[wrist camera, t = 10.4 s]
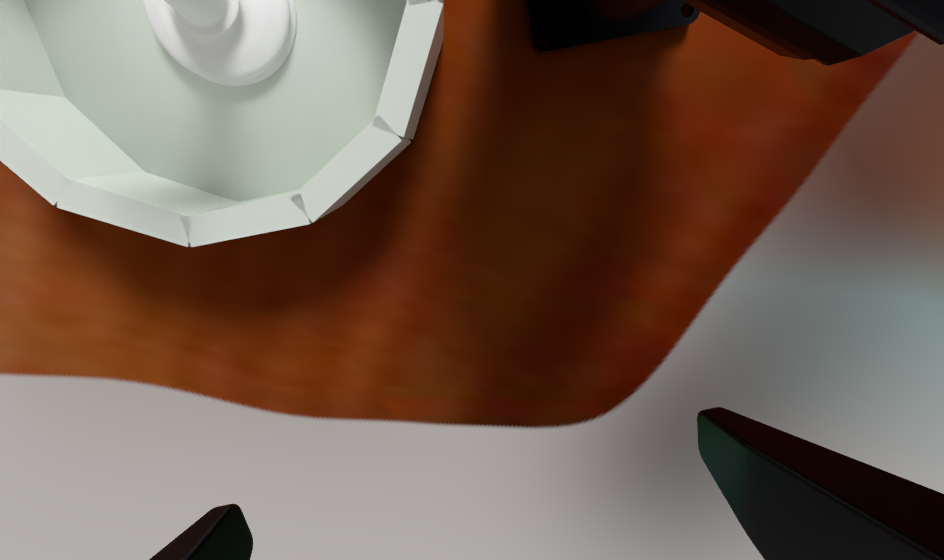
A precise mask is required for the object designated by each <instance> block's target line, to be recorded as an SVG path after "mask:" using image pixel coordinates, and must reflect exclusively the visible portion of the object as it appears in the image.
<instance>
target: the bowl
mask: <svg viewBox="0 0 944 560" xmlns="http://www.w3.org/2000/svg"><path fill="white" fill-rule="evenodd" d="M294 1H295V6H296V15H297V25H296V34H295V39H294V43H293V46H292V48H291V51H290V53H289V55H288V57H287V58H286V60H285V61H284V63H283V64H282V65H281V66H280V67H279V69H278V70H277V71H275V72H274V73H273V74H272V75H270V76H269V77H267V78H266V79H264V80H262V81H260V82H257V83H254V84H250V85H245V86H227V85H221V84H217V83H214V82H211V81H208V80H206V79H204V78H202V77H200V76H198V75H197V74H195V73H193V72H192V71H190V70H188V69H187V68H185V67H184V66H182V65H181V64H180V63H179V62H177V61H176V60H175V59H174V58H173V57H172V56H171V55H170V54H169V53H168V52H167V51H166V50H165V48H164V47H163V46H162V44H161V43H160V42H159V40H158V39H157V37H156V35H155V34H154V32H153V30H152V28H151V26H150V23H149V21H148V18H147V15H146V12H145V8H144V4H143V0H0V161H1V162H3V163H4V164H5V165H6V166H7V167H8V168H10V169H11V170H12V171H13V172H14V173H16V174H17V175H18V176H19V177H20V178H21V179H23V180H24V181H25V182H26V183H27V184H28V185H30V186H31V187H32V188H33V189H34V190H35V191H37V192H38V193H39V194H40V195H41V196H42V197H44V198H45V199H46V200H47V201H48V202H50V203H51V204H52V205H57V208H60V209H63V210H66V211H70V212H73V213H76V214H80V215H83V216H86V217H90V218H93V219H96V220H100V221H103V222H106V223H109V224H113V225H116V226H119V227H123V228H126V229H129V230H133V231H136V232H139V233H143V234H146V235H149V236H152V237H156V238H159V239H162V240H166V241H169V242H172V243H176V244H179V245H182V246H186V247H189V246H191V247H196V246H201V245H206V244H211V243H216V242H221V241H226V240H231V239H237V238H242V237H247V236H252V235H257V234H262V233H267V232H272V231H278V230H283V229H288V228H293V227H298V226H303V225H308V224H311V223H313V222H315V221H317V220H318V219H320V218H322V217H324V216H325V215H327V214H329V213H330V212H332V211H334V210H336V209H337V208H339V207H341V206H343V205H344V204H345V203H346V202H347V201H348V200H349V199H350V198H351V197H352V196H354V195H355V194H356V193H357V192H358V191H359V190H360V189H361V188H362V187H363V186H364V185H366V184H367V183H368V182H369V181H370V180H371V179H372V178H373V177H374V176H375V175H376V174H377V173H379V172H380V171H381V170H382V169H383V168H384V167H385V166H386V165H387V164H388V163H389V162H391V161H392V160H393V159H394V158H395V157H396V156H397V155H398V154H399V153H400V152H401V151H403V150H404V149H405V148H406V147H407V146H408V145H409V144H410V143H411V141H410V140H409V139H412V140H413V138H414V135H415V132H416V128H417V125H418V122H419V118H420V115H421V112H422V109H423V105H424V102H425V99H426V95H427V92H428V89H429V85H430V82H431V79H432V76H433V72H434V69H435V66H436V62H437V59H438V56H439V52H440V49H441V46H442V42H443V30H444V0H294Z"/></svg>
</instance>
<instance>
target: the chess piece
mask: <svg viewBox="0 0 944 560" xmlns="http://www.w3.org/2000/svg"><path fill="white" fill-rule="evenodd" d="M143 4H144V8H145V12H146V15H147V18H148V21H149V23H150V26H151V28H152V30H153V32H154V34H155V35H156V37H157V39H158V40H159V42H160V43H161V44H162V46H163V47H164V48H165V50H166V51H167V52H168V53H169V54H170V55H171V56H172V57H173V58H174V59H175V60H176V61H177V62H179V63H180V64H181V65H182V66H184V67H185V68H187V69H188V70H190V71H192V72H193V73H195V74H197V75H198V76H200V77H202V78H204V79H206V80H208V81H211V82H214V83H217V84H221V85H227V86H245V85H250V84H254V83H257V82H260V81H262V80H264V79H266V78H267V77H269V76H270V75H272V74H273V73H274V72H275V71H277V70H278V69H279V67H280V66H281V65H282V64H283V63H284V61H285V60H286V58H287V57H288V55H289V53H290V51H291V48H292V46H293V43H294V39H295V34H296V25H297V15H296V6H295V1H294V0H143Z"/></svg>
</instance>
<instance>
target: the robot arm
mask: <svg viewBox="0 0 944 560" xmlns="http://www.w3.org/2000/svg"><path fill="white" fill-rule="evenodd" d="M683 5H684V6H686V7H687V8H688V11H689V12H688V16H687V17H684V16H683V15H682V13H681V7H682V6H683ZM525 6H526V14H527V22H528V29H529V37H530V43H531V46H532V48H533V49H534V51H535V52H537V53H539V54H546V53H551V52H556V51H561V50H567V49H572V48H577V47H582V46H587V45H592V44H598V43H603V42H608V41H613V40H618V39H623V38H629V37H634V36H639V35H644V34H649V33H655V32H660V31H665V30H670V29H675V28H680V27H684V26H686V25H689V24H691V23H693V22H694V21H695V20H696V19H697V17H698V15H699V13H700V11H701V12H703V13H704V14H706V15H708V16H710V17H712V18H713V19H715V20H717V21H719V22H721V23H722V24H724V25H726V26H728V27H730V28H731V29H733V30H735V31H737V32H739V33H740V34H742V35H744V36H746V37H748V38H749V39H751V40H753V41H755V42H757V43H758V44H760V45H762V46H764V47H766V48H767V49H769V50H771V51H773V52H775V53H776V54H778V55H781V56H786V57H791V58H797V59H802V60H808V59H814V60H816V61H818V62H820V63H822V64H823V65H832V64H836V63H839V62H843V61H846V60H850V59H853V58H856V57H860V56H862V55H865V54H867V53H869V52H872V51H874V50H877V49H879V48H881V47H883V46H885V45H887V44H889V43H891V42H893V41H895V40H897V39H899V38H902V37H904V36H906V35H908V34H910V33H912V32H914V31H918V32H919V33H921V34H923V35H924V36H926V37H927V38H929V39H931V40H932V41H934V42H936V43H938V44H939V45H942V44H944V0H525ZM541 32H544V33H546V34H548V36H549V43H548V44H547V45H544V44H541V43H540V41H539V39H538V38H539V34H540V33H541ZM697 422H698V446H699V451H700V455H701V457H702V459H703V461H704V463H705V464H706V466H707V468H708V469H709V471H710V473H711V475H712V476H713V478H714V480H715V481H716V483H717V485H718V486H719V488H720V490H721V492H722V493H723V495H724V497H725V498H726V500H727V501H728V503H729V505H730V507H731V508H732V510H733V512H734V514H735V515H736V517H737V519H738V521H739V522H740V524H741V525H742V527H743V529H744V530H745V532H746V534H747V535H748V536H749V538H750V539H751V541H752V542H753V544H754V545H755V547H756V548H757V550H758V551H759V552H760V554H761V555H762V556H763V558H764V559H765V560H944V494H942V493H940V492H937V491H934V490H932V489H929V488H927V487H924V486H922V485H919V484H916V483H914V482H911V481H909V480H906V479H903V478H901V477H899V476H896V475H893V474H891V473H888V472H886V471H883V470H881V469H878V468H876V467H873V466H870V465H868V464H865V463H863V462H860V461H858V460H855V459H852V458H850V457H847V456H845V455H842V454H840V453H837V452H835V451H832V450H829V449H827V448H824V447H822V446H819V445H816V444H814V443H811V442H809V441H806V440H803V439H801V438H799V437H796V436H793V435H791V434H789V433H786V432H783V431H781V430H778V429H776V428H773V427H771V426H768V425H765V424H763V423H760V422H758V421H755V420H753V419H750V418H747V417H745V416H742V415H740V414H737V413H735V412H732V411H730V410H727V409H724V408H721V407H716V408H711V409H706V410H702V411H700V412H699V413H698V418H697ZM252 549H253V538H252V534H251V532H250V529H249V527H248V525H247V522H246V520H245V518H244V515H243V513H242V511H241V509H240V507H239V506H238V505H236V504H229V505H224V506H219V507H215V508H213V509H212V510H210V511H209V512H207V513H206V514H205V515H204V516H203V517H201V518H200V519H199V520H198V521H196V522H195V523H194V524H193V525H191V526H190V527H189V528H188V529H187V530H185V531H184V532H183V533H182V534H180V535H179V536H178V537H177V538H175V539H174V540H173V541H172V542H170V543H169V544H168V545H167V546H165V547H164V548H163V549H162V550H161V551H160V552H158V553H157V554H156V555H154V556H153V557H152V558H151V559H150V560H250V557H251V553H252Z"/></svg>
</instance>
